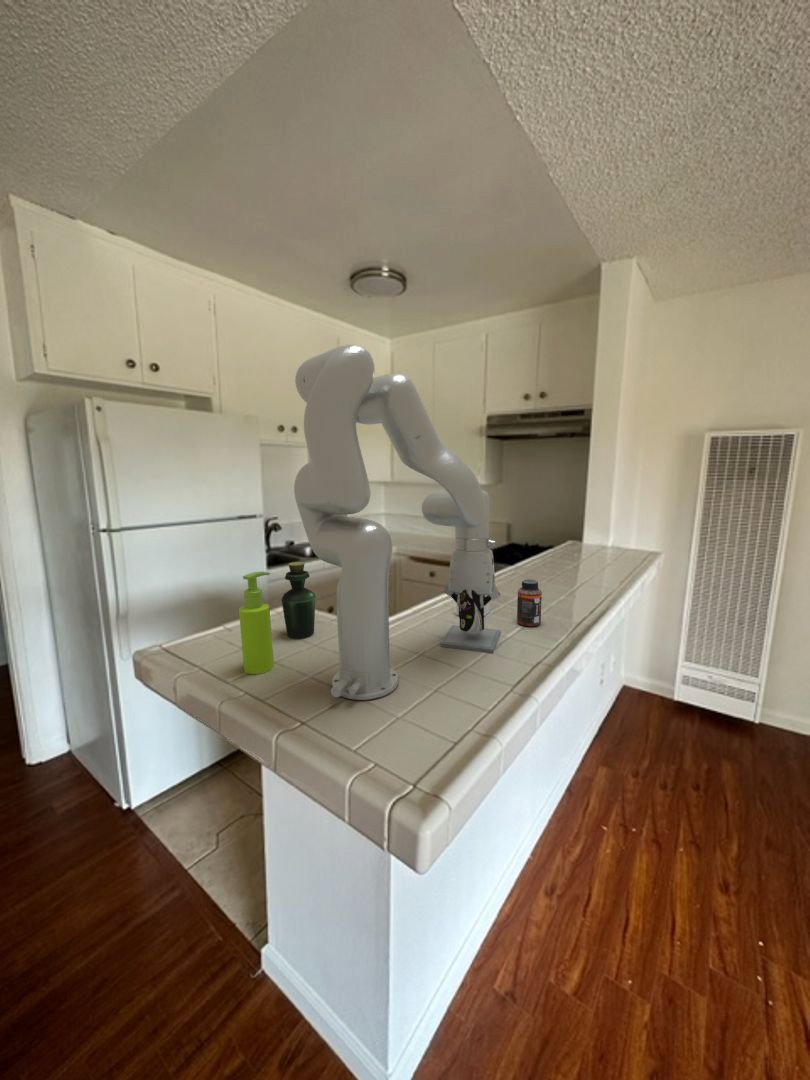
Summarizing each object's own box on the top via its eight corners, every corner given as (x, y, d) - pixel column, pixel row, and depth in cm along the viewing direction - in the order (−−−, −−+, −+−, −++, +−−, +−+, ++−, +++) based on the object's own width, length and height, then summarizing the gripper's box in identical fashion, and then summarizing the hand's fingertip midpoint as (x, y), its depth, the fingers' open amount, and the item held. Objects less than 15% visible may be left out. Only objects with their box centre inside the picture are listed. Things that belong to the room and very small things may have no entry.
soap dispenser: (283, 663, 93) (277, 571, 90) (257, 676, 87) (249, 579, 84) (264, 657, 96) (257, 568, 93) (237, 670, 90) (229, 575, 87)
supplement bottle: (543, 627, 110) (545, 584, 108) (519, 627, 111) (521, 584, 109) (537, 619, 116) (538, 577, 114) (514, 619, 116) (515, 578, 114)
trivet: (493, 653, 96) (493, 649, 96) (440, 646, 100) (440, 642, 100) (500, 633, 107) (500, 629, 107) (452, 628, 111) (452, 624, 111)
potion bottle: (278, 634, 109) (273, 563, 106) (307, 625, 115) (303, 558, 112) (293, 643, 103) (288, 569, 100) (323, 634, 109) (319, 563, 106)
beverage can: (454, 631, 104) (453, 582, 102) (470, 625, 107) (469, 578, 105) (473, 638, 99) (472, 586, 97) (489, 631, 103) (488, 581, 101)
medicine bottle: (490, 612, 122) (491, 570, 120) (480, 620, 116) (481, 576, 114) (466, 608, 126) (467, 567, 124) (456, 615, 120) (456, 573, 118)
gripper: (510, 543, 100) (508, 620, 103) (441, 540, 106) (441, 613, 109) (506, 549, 93) (504, 631, 96) (432, 545, 99) (433, 623, 102)
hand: (471, 621), depth 103 cm, fingers closed on beverage can, 2 cm apart
